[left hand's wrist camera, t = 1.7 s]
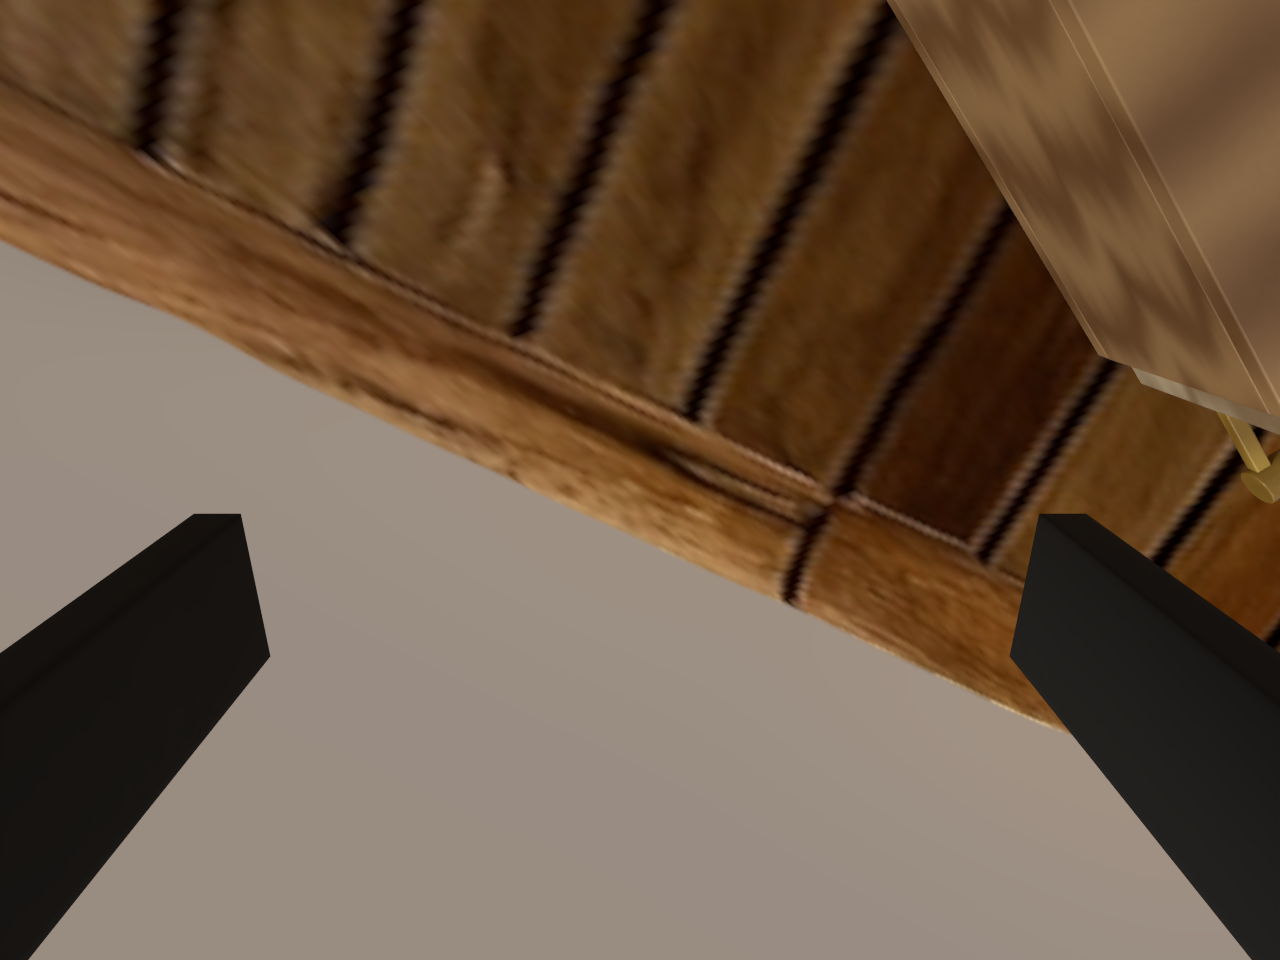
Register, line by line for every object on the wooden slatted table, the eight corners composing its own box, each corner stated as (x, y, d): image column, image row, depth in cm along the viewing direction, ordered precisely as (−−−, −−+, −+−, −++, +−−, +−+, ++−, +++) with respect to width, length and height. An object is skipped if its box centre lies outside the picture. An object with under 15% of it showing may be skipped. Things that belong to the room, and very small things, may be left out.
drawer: (1390, 347, 34) (1643, 398, 25) (1192, 472, 36) (1364, 557, 27) (1153, -171, 27) (1389, -339, 18) (927, 19, 29) (1046, -54, 21)
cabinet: (1323, 201, 32) (1638, 203, 22) (1098, 355, 35) (1289, 421, 24) (1116, -254, 27) (1406, -528, 17) (865, -34, 29) (986, -156, 19)
